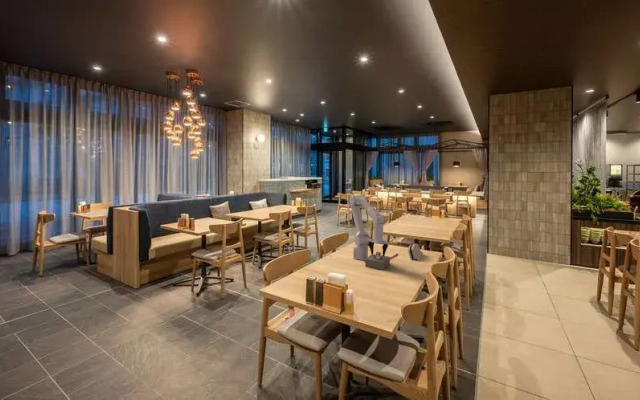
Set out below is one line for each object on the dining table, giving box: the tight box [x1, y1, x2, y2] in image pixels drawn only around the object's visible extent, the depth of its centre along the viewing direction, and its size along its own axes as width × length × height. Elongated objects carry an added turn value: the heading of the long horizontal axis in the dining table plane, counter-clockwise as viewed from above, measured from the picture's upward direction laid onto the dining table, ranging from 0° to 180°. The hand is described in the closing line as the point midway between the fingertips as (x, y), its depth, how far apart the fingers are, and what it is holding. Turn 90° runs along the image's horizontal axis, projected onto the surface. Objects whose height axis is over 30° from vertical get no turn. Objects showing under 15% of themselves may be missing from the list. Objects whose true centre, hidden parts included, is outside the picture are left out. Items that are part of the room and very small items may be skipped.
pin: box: [375, 251, 382, 259], centre depth 196 cm, size 3×3×8 cm
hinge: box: [407, 243, 424, 262], centre depth 214 cm, size 17×5×10 cm, turn 149°
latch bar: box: [387, 253, 399, 261], centre depth 191 cm, size 7×4×1 cm
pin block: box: [365, 253, 391, 271], centre depth 197 cm, size 12×12×5 cm
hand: (377, 254), depth 196 cm, fingers open, 7 cm apart
